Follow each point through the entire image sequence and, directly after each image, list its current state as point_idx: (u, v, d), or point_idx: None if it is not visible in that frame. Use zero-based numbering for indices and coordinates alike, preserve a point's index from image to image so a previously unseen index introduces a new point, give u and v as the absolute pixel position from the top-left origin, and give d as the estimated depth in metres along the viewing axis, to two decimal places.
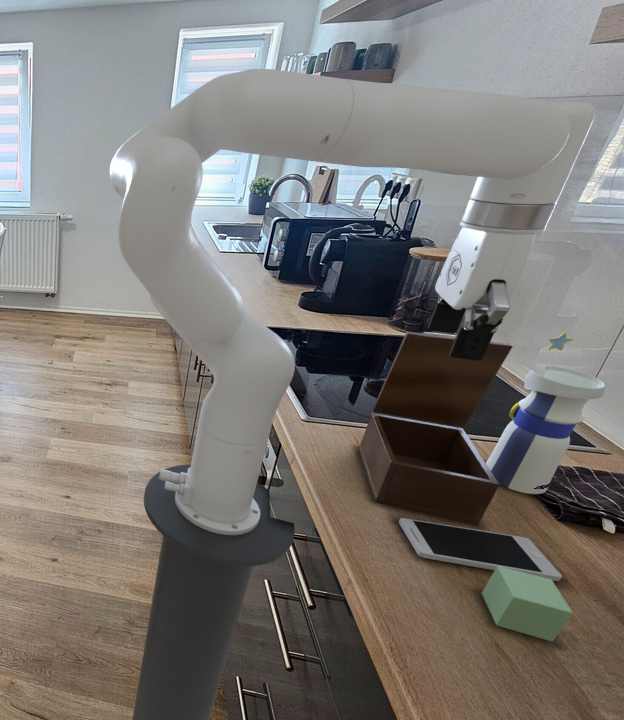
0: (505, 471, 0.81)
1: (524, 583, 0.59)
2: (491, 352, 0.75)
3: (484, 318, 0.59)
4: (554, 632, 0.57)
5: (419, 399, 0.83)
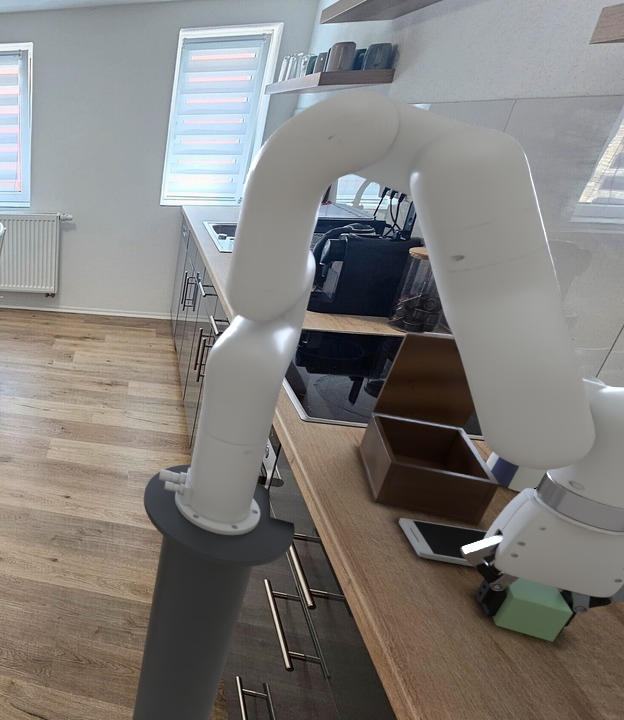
0: (505, 471, 0.81)
1: (524, 583, 0.59)
2: None
3: None
4: (554, 632, 0.57)
5: (419, 399, 0.83)
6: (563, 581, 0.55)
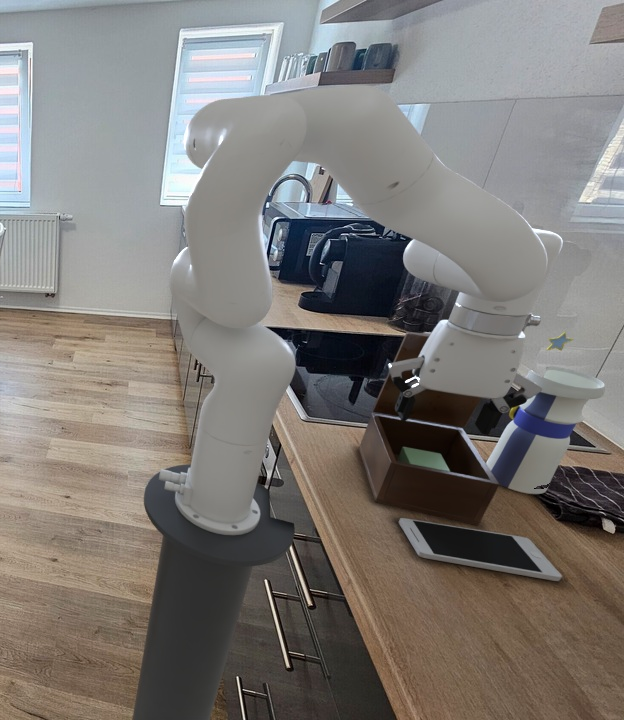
0: (505, 471, 0.81)
1: (419, 455, 0.80)
2: None
3: None
4: None
5: (419, 399, 0.83)
6: (468, 387, 0.71)
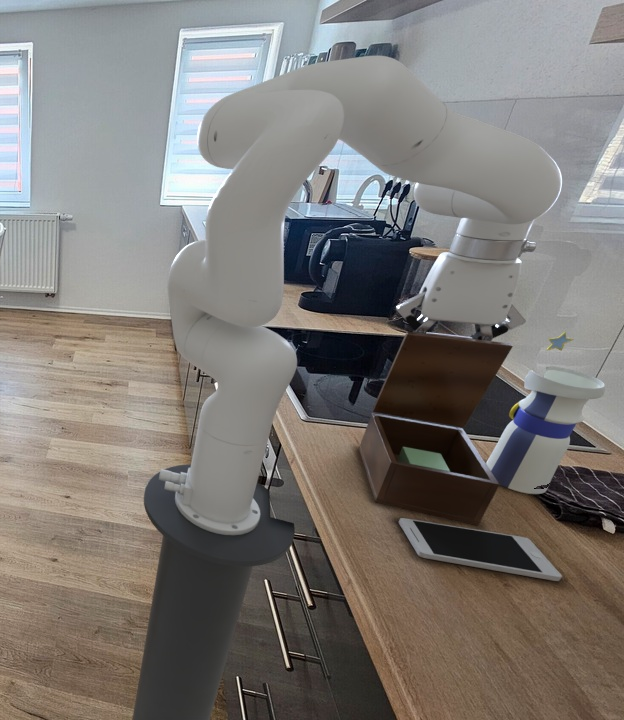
0: (505, 471, 0.81)
1: (419, 455, 0.80)
2: (491, 352, 0.75)
3: None
4: None
5: (419, 399, 0.83)
6: (468, 315, 0.75)
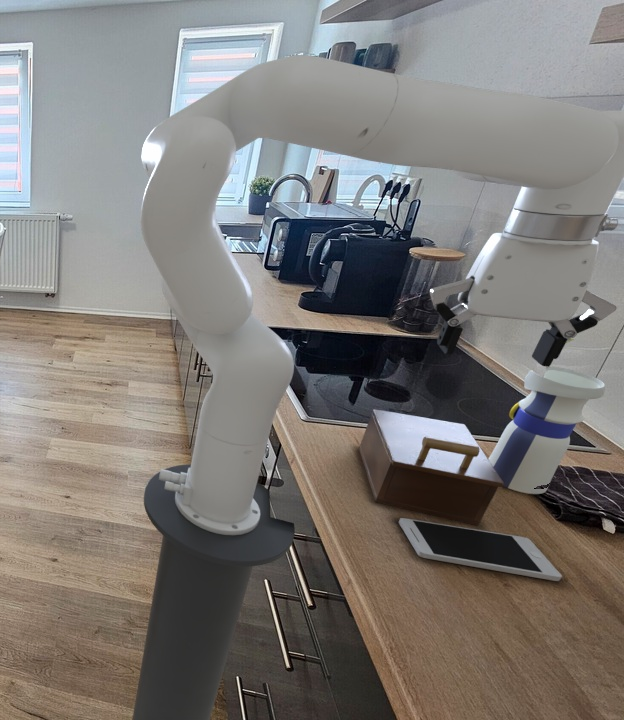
0: (505, 471, 0.81)
1: None
2: None
3: None
4: None
5: None
6: (527, 309, 0.61)
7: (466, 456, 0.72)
